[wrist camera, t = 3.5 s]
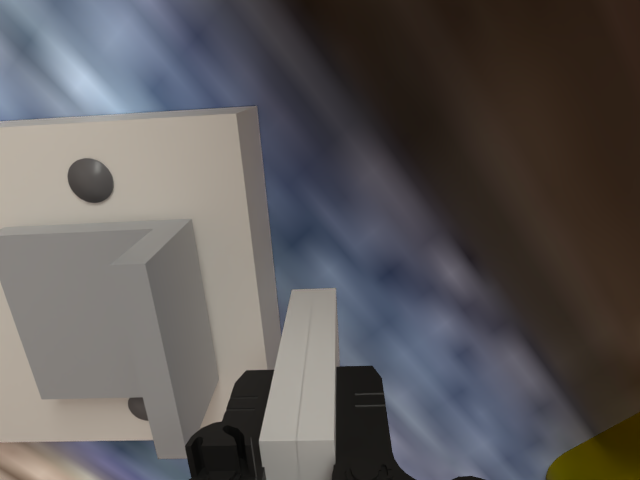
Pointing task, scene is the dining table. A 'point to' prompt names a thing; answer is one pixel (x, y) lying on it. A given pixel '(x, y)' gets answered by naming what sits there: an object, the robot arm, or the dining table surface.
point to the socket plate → (144, 205)
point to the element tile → (603, 456)
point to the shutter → (115, 318)
